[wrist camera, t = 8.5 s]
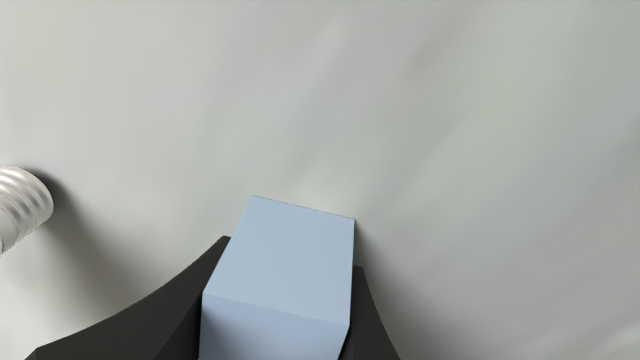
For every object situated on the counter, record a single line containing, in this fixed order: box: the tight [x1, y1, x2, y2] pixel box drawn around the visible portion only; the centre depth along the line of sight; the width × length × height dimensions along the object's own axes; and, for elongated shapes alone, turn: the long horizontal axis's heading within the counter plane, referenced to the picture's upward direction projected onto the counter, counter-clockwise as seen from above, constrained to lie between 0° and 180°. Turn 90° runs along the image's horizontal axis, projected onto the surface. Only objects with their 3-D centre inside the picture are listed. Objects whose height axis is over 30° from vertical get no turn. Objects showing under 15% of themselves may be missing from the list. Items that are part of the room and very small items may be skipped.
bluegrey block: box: [199, 196, 354, 360], centre depth 13 cm, size 4×4×5 cm
